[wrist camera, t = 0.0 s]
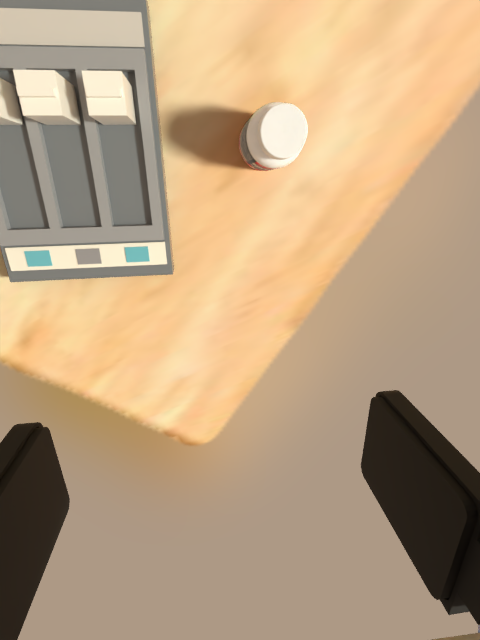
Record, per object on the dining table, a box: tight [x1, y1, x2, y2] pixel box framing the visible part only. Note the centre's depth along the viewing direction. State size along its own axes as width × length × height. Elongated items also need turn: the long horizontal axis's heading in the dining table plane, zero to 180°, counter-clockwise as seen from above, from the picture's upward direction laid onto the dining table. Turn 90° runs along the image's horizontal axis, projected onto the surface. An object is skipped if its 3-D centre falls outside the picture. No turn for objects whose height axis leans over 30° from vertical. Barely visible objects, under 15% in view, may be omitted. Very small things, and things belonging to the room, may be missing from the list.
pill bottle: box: [239, 102, 308, 171], centre depth 31 cm, size 5×5×9 cm
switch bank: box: [0, 0, 174, 282], centre depth 32 cm, size 24×17×3 cm
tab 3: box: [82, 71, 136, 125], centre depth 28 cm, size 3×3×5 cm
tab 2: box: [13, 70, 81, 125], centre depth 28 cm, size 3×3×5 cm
